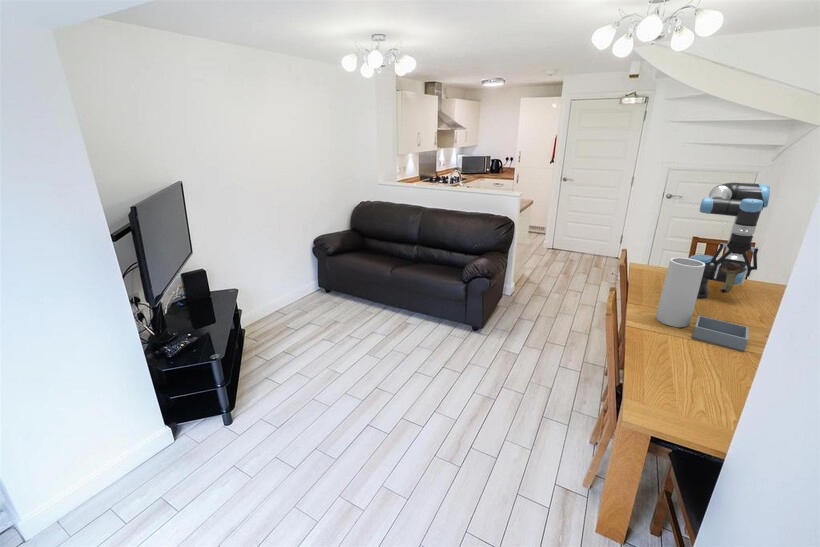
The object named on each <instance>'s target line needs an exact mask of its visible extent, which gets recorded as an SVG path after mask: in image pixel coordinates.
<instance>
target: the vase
mask: <svg viewBox="0 0 820 547" xmlns="http://www.w3.org/2000/svg"><path fill="white" fill-rule="evenodd" d="M704 268H705V263H703V262H701V261H698V260H694V259H689V257H672V258H670V259H669V263H668V267H667V271H666V275H665V278H664V282H663V285H662V286H663V287H662V290H661V294H660V298H659V302H658V305H657V309H656V310H657V311H656V315H655V318H656V320H657V321H658V322H659V323H661V324H663V325H666V326H670V327H674V328H686V327H688V326H690V323H691V322H692V321H691V320H692V317H693V314H694V310H695V307H696V302H697V300H698V299H697V295H698V292H699V288H700V284H701V280H702V276H703V272H704Z"/></svg>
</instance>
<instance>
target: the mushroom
mask: <svg viewBox="0 0 820 547" xmlns="http://www.w3.org/2000/svg"><path fill="white" fill-rule="evenodd" d="M719 269H720V270H721V271H724V272H726V274H727V277H726V282H725V283H722V284H721V286H720V293H722V294H728V293H730V291H731V290H733V288H734V285H735V283H734V282H735V278H736V275H737V274H739V273H743V272H744V271H745V270H746V268H745V267H744V266H743V265H741V264H736V263H725V264H722V265H720V266H719Z"/></svg>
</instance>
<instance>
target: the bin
mask: <svg viewBox="0 0 820 547" xmlns="http://www.w3.org/2000/svg"><path fill="white" fill-rule="evenodd" d="M692 333H693V334H692V336H691V339H694V340H696V341H697V340H698V341H701V342H704V343H708V344H713V345H715V346H720V347H723V348H727V349H732V350H735V351H739V352H743V353H744V352H745V350H746V348H747V345H748V342H749V326H748V325H747V326H745V325H743V324H737V323H733V322H730V321H729V322H728V321H724V320H721V319H716V318H711V317H709V316H702V315H698V316H697V319H696V323H695V327H694V330H693V332H692Z"/></svg>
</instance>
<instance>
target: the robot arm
mask: <svg viewBox="0 0 820 547" xmlns="http://www.w3.org/2000/svg"><path fill="white" fill-rule="evenodd" d="M770 194H771V187H770V185H768V184H765V183H763V184H762V183H750V182H749V183H748V182H726V183H722V184H719V185H716V186H714V187H713V188H712V189H711V190H710V191H709V194H708V197H703V198H702V199H701V202H700V205H699V213H702V214H707V215H721V216H729V217H730V216H731V217H734V221H733V224H732V227H731V231H730V234H729V238H728V241H727V243H723V242H720V243H719V246H718V247H719V248H718V249H717V250H716V251H715V253H714V255H709V254H695V255H691V256H689V257H688V258H689V259H694V260H698V261H701V262H703V263H705V268H704V272H703V276H702V280H701V284H700V288H699V292H698V295H697V299H696V300H698V299H700V300H702V299H703V300H704V299H707V298H708V297H709V286H708V283H709V281H713V282H719V283H722V284H724V283H725V282H726V277H727V274H726V272H724V271H721V270H720V269H719V266H720V265H722V264H725V263H736V264H741V265H743V266H744V267H745V268H746V270H745V271H744V272H743V273H739V274H737V275H736V278H735V282H734V283H735V284H734V285H737V286H738V285H740V284H745V280H746V277H750V275H751V271H757V270H758V252H759V247H756V246H755V247H753V246H751V244H752V241H753V238H754V236H753V235H754V234H755V232H756V228H757V226H758V221H759V218H760V216H761V212H763V210H764V208H768V206H769V200H770ZM723 249H725V252H724V254H723V255H721V256H720V257H719V255H720V254H721V252H722V251H723ZM749 251H751V253H752V258H753V262H752V264H753V266H751V263H750V260H749V257H748V255H747V252H749ZM718 257H719V258H718ZM717 258H718V259H717Z"/></svg>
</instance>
